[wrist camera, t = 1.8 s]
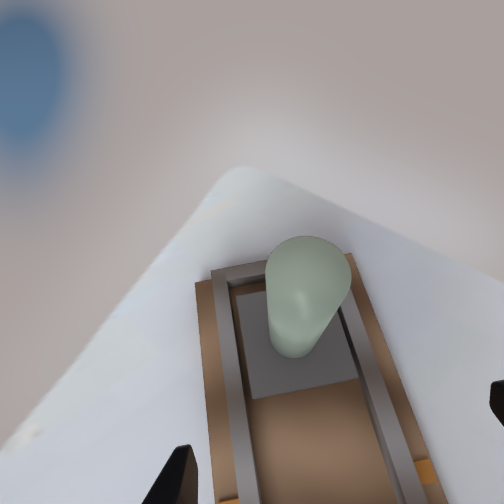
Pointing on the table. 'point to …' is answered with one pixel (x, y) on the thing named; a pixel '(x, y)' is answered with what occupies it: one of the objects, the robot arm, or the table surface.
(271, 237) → the table surface
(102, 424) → the table surface
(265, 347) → the fader knob
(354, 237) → the table surface
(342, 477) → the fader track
